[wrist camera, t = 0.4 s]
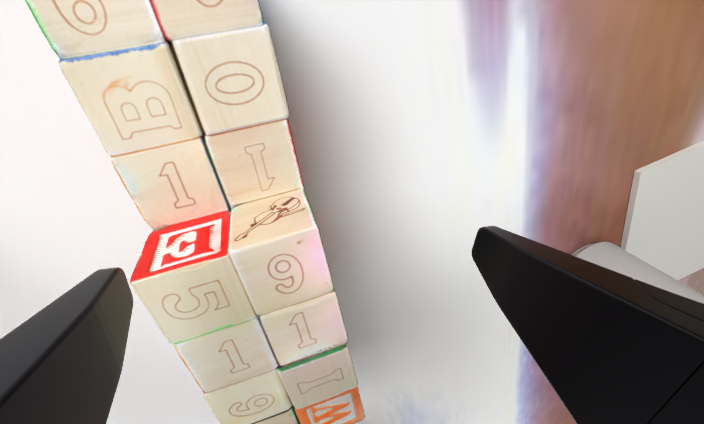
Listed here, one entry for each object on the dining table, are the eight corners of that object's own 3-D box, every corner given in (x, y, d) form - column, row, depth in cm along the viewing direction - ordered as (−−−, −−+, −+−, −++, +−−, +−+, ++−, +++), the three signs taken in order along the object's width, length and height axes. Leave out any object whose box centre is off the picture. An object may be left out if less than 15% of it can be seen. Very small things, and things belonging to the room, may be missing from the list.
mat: (609, 307, 43) (613, 311, 42) (634, 170, 32) (640, 172, 32) (699, 264, 44) (705, 267, 44) (752, 118, 34) (760, 120, 33)
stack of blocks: (107, -27, 16) (-146, -137, 6) (241, -44, 17) (241, -161, 7) (243, 300, 27) (245, 472, 16) (320, 277, 28) (367, 425, 17)
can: (560, 246, 34) (693, 337, 24) (618, 230, 36) (767, 308, 26) (546, 300, 38) (656, 398, 28) (600, 283, 40) (723, 370, 29)
